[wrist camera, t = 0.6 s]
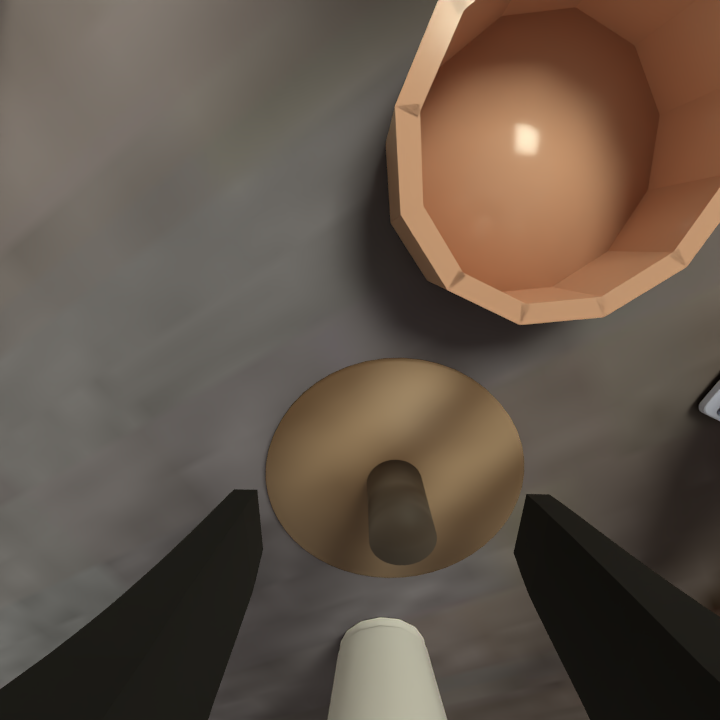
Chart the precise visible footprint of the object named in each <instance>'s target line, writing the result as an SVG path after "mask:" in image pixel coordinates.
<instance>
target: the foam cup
mask: <svg viewBox="0 0 720 720" xmlns="http://www.w3.org/2000/svg"><path fill="white" fill-rule="evenodd" d="M327 720H447V718H446V714H445V711H444V707H443V704H442V700H441V697H440V693H439V690H438V686H437V683H436V679H435V676H434V672H433V668H432V665H431V661H430V658H429V654H428V651H427V648H426V647H425V643H424V638H423V637H422V635H421V634H420V633H419V631H418V630H417V629H416V627H414V626H412V625H410V624H408V623H406V622H404V621H402V620H400V619H392V618H383V617H379V618H374V619H370V620H365V621H361V622H359V623H358V624H356V625H355V626H353V627H352V628H350V629H349V630H347V632H346V633H345V635H344V637H343V639H342V640H341V642H340V651H339V652H338V658H337V664H336V671H335V677H334V683H333V689H332V695H331V701H330V707H329V713H328V719H327Z"/></svg>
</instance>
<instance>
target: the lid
mask: <svg viewBox="0 0 720 720" xmlns="http://www.w3.org/2000/svg"><path fill="white" fill-rule="evenodd" d="M523 476H524V456H523V450H522V444H521V441H520V438H519V435H518V432H517V429H516V428H515V426H514V424H513V422H512V420H511V418H510V416H509V415H508V414H507V412H506V411H505V410H504V408H503V407H502V406H501V404H500V403H499V402H498V401H497V400H496V399H495V398H494V397H493V396H492V395H491V394H490V393H489V392H488V391H487V390H486V389H485V388H484V387H483V386H481V385H480V384H478V383H477V382H476V381H474V380H473V379H472V378H470V377H468V376H466V375H464V374H462V373H461V372H459V371H457V370H455V369H452V368H449V367H447V366H444V365H441V364H438V363H434V362H429V361H425V360H420V359H409V358H384V359H378V360H371V361H365V362H362V363H358V364H355V365H351V366H348V367H346V368H343V369H341V370H339V371H336V372H334V373H332V374H330V375H328V376H327V377H325V378H323V379H322V380H320V381H318V382H317V383H315V384H314V385H313V386H311V387H310V388H309V389H308V390H306V391H305V392H304V393H303V394H302V395H301V396H300V397H299V398H298V399H297V400H296V401H295V402H294V403H293V404H292V405H291V407H290V408H289V410H288V411H287V412H286V414H285V415H284V416H283V418H282V420H281V422H280V424H279V426H278V428H277V430H276V432H275V434H274V436H273V439H272V442H271V445H270V448H269V451H268V456H267V462H266V484H267V491H268V495H269V499H270V502H271V505H272V508H273V510H274V512H275V514H276V516H277V518H278V520H279V521H280V523H281V524H282V526H283V527H284V529H285V530H286V532H287V533H288V534H289V535H290V536H291V537H292V538H293V539H294V541H295V542H297V543H298V544H299V545H300V546H301V547H302V548H303V549H305V550H306V551H307V552H309V553H310V554H312V555H313V556H315V557H316V558H318V559H320V560H322V561H323V562H325V563H327V564H329V565H331V566H334V567H336V568H339V569H342V570H344V571H348V572H352V573H355V574H360V575H365V576H371V577H384V578H396V577H409V576H417V575H421V574H426V573H430V572H434V571H437V570H440V569H443V568H446V567H448V566H450V565H453V564H455V563H457V562H459V561H461V560H463V559H465V558H466V557H468V556H470V555H472V554H473V553H474V552H476V551H477V550H478V549H480V548H481V547H483V546H484V545H485V544H486V543H487V542H488V541H489V540H490V539H492V538H493V537H494V536H495V535H496V533H497V532H498V531H499V530H500V529H501V528H502V526H503V525H504V524H505V522H506V521H507V519H508V518H509V516H510V515H511V513H512V511H513V509H514V507H515V505H516V503H517V501H518V498H519V494H520V491H521V488H522V483H523Z"/></svg>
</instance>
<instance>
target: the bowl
mask: <svg viewBox="0 0 720 720" xmlns="http://www.w3.org/2000/svg"><path fill="white" fill-rule="evenodd" d="M386 158H387V174H388V190H389V206H390V222H391V224H392V226H393V228H394V229H395V231H396V232H397V234H398V236H399V237H400V239H401V240H402V242H403V243H404V245H405V247H406V248H407V250H408V251H409V253H410V254H411V256H412V258H413V259H414V261H415V262H416V264H417V265H418V267H419V269H420V270H421V272H422V273H423V275H424V277H425V278H426V280H427V281H429V282H431V283H433V284H435V285H437V286H439V287H442V288H444V289H446V290H448V291H450V292H452V293H454V294H456V295H458V296H460V297H462V298H464V299H467V300H469V301H471V302H473V303H475V304H477V305H479V306H481V307H483V308H485V309H487V310H489V311H492V312H494V313H496V314H498V315H500V316H502V317H504V318H506V319H508V320H510V321H512V322H515V323H517V324H519V325H525V324H536V323H546V322H557V321H568V320H578V319H589V318H600V317H605V316H606V315H608V314H610V313H611V312H613V311H615V310H616V309H618V308H620V307H621V306H623V305H625V304H626V303H628V302H630V301H631V300H633V299H635V298H636V297H638V296H639V295H641V294H643V293H644V292H646V291H648V290H649V289H651V288H653V287H654V286H656V285H658V284H659V283H661V282H663V281H664V280H666V279H668V278H669V277H671V276H672V275H674V274H676V273H677V272H679V271H681V270H682V269H684V268H686V267H687V266H688V264H689V263H690V262H691V260H692V259H693V258H694V256H695V255H696V254H697V252H698V251H699V249H700V248H701V247H702V245H703V244H704V243H705V241H706V240H707V239H708V237H709V236H710V235H711V233H712V232H713V231H714V229H715V228H716V226H717V225H718V224H719V222H720V0H438V2H437V5H436V7H435V10H434V12H433V14H432V17H431V19H430V22H429V24H428V27H427V29H426V32H425V34H424V36H423V39H422V41H421V44H420V46H419V49H418V51H417V53H416V56H415V58H414V61H413V63H412V66H411V68H410V70H409V73H408V75H407V78H406V80H405V83H404V85H403V88H402V90H401V92H400V95H399V97H398V100H397V102H396V105H395V108H394V112H393V116H392V120H391V124H390V128H389V132H388V136H387V140H386Z"/></svg>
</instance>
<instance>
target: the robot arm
mask: <svg viewBox="0 0 720 720" xmlns="http://www.w3.org/2000/svg"><path fill="white" fill-rule="evenodd" d="M699 411H701V412H702V413H704V414H706V415H708V416H710V417H712V418H714V419H716V420H718V421H720V380H719V381H718V382H717V383H716V385H715V386H714V387H713V388H712V389H711V390H710V392H709V393H708V394H707V395H706V396H705V397H704V399H703V400H702V401H701V402H700V404H699ZM262 551H263V545H262V535H261V525H260V514H259V504H258V493H257V490H235V489H234V490H233V491H232V492H231V493H230V494H229V495H228V496H227V497H226V498H225V499H224V500H223V501H222V502H221V503H220V504H219V505H218V506H217V507H216V508H215V509H214V510H213V511H212V512H211V513H210V514H209V515H208V516H207V517H206V518H205V519H204V520H203V521H202V522H201V523H200V524H199V525H198V526H197V527H196V528H195V529H194V530H193V531H192V532H191V533H190V534H189V535H187V536H186V537H185V538H184V539H183V540H182V541H181V542H180V543H179V544H178V545H177V546H176V547H175V548H174V549H173V550H172V551H171V552H170V553H169V554H168V555H167V556H165V557H164V558H163V559H162V560H161V561H160V562H159V563H158V564H157V565H156V566H155V567H153V568H152V569H151V570H150V571H149V572H148V573H147V574H146V575H144V576H143V577H142V578H141V579H140V580H139V581H138V582H137V583H135V584H134V585H133V586H132V587H131V588H130V589H129V590H128V591H126V592H125V593H124V594H123V595H122V596H121V597H119V598H118V599H117V600H116V601H115V602H114V603H112V604H111V605H110V606H109V607H108V608H106V609H105V610H104V611H103V612H102V613H100V614H99V615H98V616H97V617H95V618H94V619H93V620H92V621H91V622H89V623H88V624H87V625H86V626H84V627H83V628H82V629H80V630H79V631H78V632H77V633H75V634H74V635H73V636H72V637H70V638H69V639H68V640H67V641H65V642H64V643H63V644H61V645H60V646H59V647H57V648H56V649H55V650H54V651H52V652H51V653H50V654H48V655H47V656H46V657H44V658H43V659H41V660H40V661H39V662H37V663H36V664H35V665H33V666H32V667H30V668H29V669H28V670H26V671H25V672H23V673H22V674H21V675H19V676H18V677H17V678H15V679H14V680H12V681H11V682H10V683H8V684H7V685H5V686H4V687H3V688H1V689H0V720H208V718H209V715H210V712H211V709H212V706H213V703H214V700H215V697H216V694H217V691H218V688H219V686H220V683H221V680H222V677H223V674H224V672H225V669H226V666H227V663H228V660H229V657H230V655H231V652H232V649H233V646H234V643H235V640H236V638H237V635H238V632H239V629H240V626H241V623H242V621H243V618H244V615H245V612H246V609H247V606H248V603H249V601H250V598H251V595H252V592H253V588H254V584H255V580H256V576H257V572H258V568H259V563H260V559H261V555H262ZM514 555H515V558H516V561H517V564H518V567H519V569H520V572H521V575H522V578H523V580H524V583H525V586H526V588H527V591H528V593H529V596H530V598H531V600H532V602H533V604H534V606H535V608H536V611H537V613H538V615H539V617H540V619H541V621H542V623H543V625H544V627H545V629H546V631H547V633H548V635H549V637H550V639H551V641H552V643H553V645H554V647H555V649H556V651H557V653H558V655H559V657H560V659H561V661H562V663H563V665H564V667H565V669H566V671H567V673H568V675H569V677H570V679H571V681H572V683H573V685H574V687H575V689H576V691H577V693H578V695H579V697H580V699H581V701H582V703H583V705H584V707H585V710H586V712H587V714H588V716H589V718H590V720H720V617H719V616H717V615H716V614H714V613H713V612H711V611H710V610H708V609H707V608H705V607H704V606H703V605H701V604H700V603H698V602H697V601H695V600H694V599H692V598H691V597H689V596H688V595H687V594H685V593H684V592H682V591H681V590H679V589H678V588H676V587H675V586H673V585H672V584H671V583H669V582H668V581H666V580H665V579H663V578H662V577H661V576H659V575H658V574H656V573H655V572H654V571H652V570H651V569H649V568H648V567H647V566H645V565H644V564H643V563H641V562H640V561H638V560H637V559H636V558H634V557H633V556H632V555H630V554H629V553H628V552H626V551H625V550H624V549H622V548H621V547H619V546H618V545H617V544H615V543H614V542H613V541H611V540H610V539H609V538H607V537H606V536H605V535H603V534H602V533H601V532H599V531H598V530H597V529H596V528H594V527H593V526H592V525H590V524H589V523H588V522H586V521H585V520H584V519H582V518H581V517H580V516H578V515H577V514H576V513H574V512H573V511H572V510H570V509H569V508H568V507H566V506H565V505H563V504H562V503H561V502H559V501H558V500H556V499H555V498H554V497H552V496H551V495H542V494H526V499H525V503H524V508H523V513H522V517H521V522H520V526H519V531H518V535H517V540H516V545H515V549H514Z"/></svg>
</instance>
